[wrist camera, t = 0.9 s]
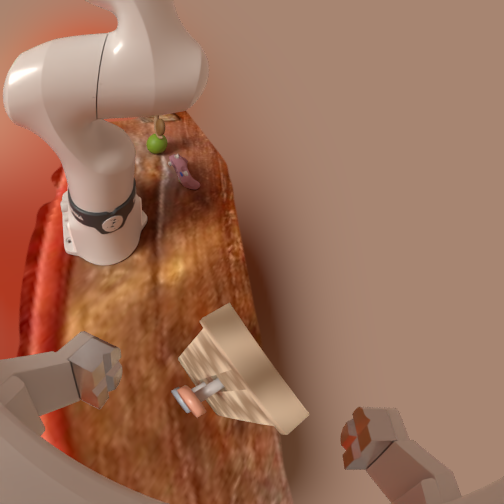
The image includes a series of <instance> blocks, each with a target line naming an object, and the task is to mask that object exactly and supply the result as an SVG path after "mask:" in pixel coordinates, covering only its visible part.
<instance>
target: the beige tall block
mask: <svg viewBox="0 0 504 504" xmlns="http://www.w3.org/2000/svg"><path fill="white" fill-rule="evenodd" d="M200 323H201V325H202V326H203V329H202V331H201V332H200V333H199V334H198V335H197V336H196V338H195V339H194V340H193V341H192V342H191V344H190V345H189V346H188V347H187V348H186V350H185V351H184V352H183V353H182V354H181V355H180V357H179V358H178V360H179V361H180V363H181V364H182V366H183V367H184V369H185V370H186V372H187V373H188V375H189V376H190V378H191V379H192V381H193V382H194V384H195V385H196V386H198V385H199V384H201V383H202V382H205V384H206V385H207V384H209V383H210V382H212V381H213V380H215V379H217V378H218V379H219V380H220V381H221V383H222V384H223V386H224V388H222V389H221V390H219V391H218V392H216V393H215V394H213V395H212V396H210V397H208V398H207V399H206V401H207V402H208V403H209V405H210V406H211V407H212V409H213V410H214V411H215V413H216V414H217V415H220V416H224V417H228V418H233V419H238V420H243V421H248V422H253V423H259V424H265V425H271V426H275V428H276V429H277V430H278V431H279V432H280V434H284V435H287V434H289V433H290V432H291V431H292V430H293V429H294V428H295V427H296V426H298V425H299V424H300V423H301V422H302V421H303V420H304V419H305V418H306V417H307V416H308V415H309V413H308V412H307V410H306V409H305V408H304V406H303V405H302V404H301V402H300V401H299V400H298V399H297V397H296V396H295V395H294V393H293V392H292V391H291V389H290V388H289V387H288V385H287V384H286V383H285V381H284V380H283V379H282V377H281V376H280V374H279V373H278V372H277V370H276V369H275V367H274V366H273V365H272V363H271V362H270V361H269V359H268V358H267V356H266V355H265V353H264V352H263V351H262V349H261V348H260V346H259V345H258V344H257V342H256V341H255V339H254V338H253V336H252V335H251V334H250V332H249V331H248V329H247V328H246V326H245V325H244V323H243V322H242V320H241V319H240V318H239V316H238V315H237V313H236V312H235V310H234V309H233V307H232V306H231V304H230V303H228V304H226V305H225V306H223V307H221V308H219V309H218V310H216V311H214V312H212V313H210V314H209V315H207V316H205V317H203V318H202V319H201V320H200Z"/></svg>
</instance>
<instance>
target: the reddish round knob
mask: <svg viewBox="0 0 504 504" xmlns="http://www.w3.org/2000/svg"><path fill="white" fill-rule="evenodd" d="M222 388H224V386H223V384H222V383H221V381H220V380H219V379H218V378H217V379H215V380H213V381H212V382H210V383H209V384H207V385H206V386H204V387H202V388H201V389H199V390H198V391H196V392H194V393H193V391H192V390H191V389H190V388H189V387H188V386H187V385H185V386H183V387H181V388H180V389H178V390H177V392H178V394H179V395H180V397H181V399H182V400H183V402H184V403H185V404H186V406H187V407H188V408H189V410H190V411H191V412H192V413H193V414H194V415H195V416H196V417H199V416H201V415H202V414H204V413H205V412H206V410H205V408H204V407H203V405H202V403H201V402H202V401H204V400H205V399H207V398H208V397H210V396H212V395H213V394H215V393H216V392H218V391H219V390H221V389H222Z"/></svg>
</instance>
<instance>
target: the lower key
mask: <svg viewBox="0 0 504 504" xmlns="http://www.w3.org/2000/svg"><path fill="white" fill-rule="evenodd" d="M204 386H206V384H205V382H202V383H201V384H199V385H198V386H196V387H194V388H193V389H191V390H192V391H193V393H194V392H196V391H198V390H199V389H201V388H202V387H204ZM178 389H180V388H179V387H177V388H175V389H174V390H172V394H173V395H174V397H175V398H176V400H177V401H178V403H179V404H180V406H181V407H182V408H183V409H184V411H185V412H186V413H189V412H190V410H189V408H188V407H187V406H186V404H185V403H184V402H183V400H182V399H181V397H180V395H179V394H178V392H177V390H178Z"/></svg>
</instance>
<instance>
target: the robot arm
mask: <svg viewBox="0 0 504 504" xmlns="http://www.w3.org/2000/svg"><path fill="white" fill-rule="evenodd" d="M85 1H87V2H89V3H92V4H94V5H96V6H98V7H101V8H103V9H106V10H108V11H111V12H112V13H113V14H115V16H116V17H117V20H118V27H117V29H116V30H115V31H113V32H109V33H103V34H90V35H81V36H73V37H65V38H59V39H55V40H52V41H49V42H46V43H43V44H41V45H38V46H36V47H34V48H32V49H29V50H27V51H25V52H23V53H21V54H20V55H19V56H18V58H17V59H16V60H15V61H14V63H13V65H12V66H11V68H10V70H9V72H8V74H7V77H6V80H5V83H4V88H3V102H4V107H5V110H6V112H7V114H8V116H9V117H10V119H11V120H12V121H13V122H14V123H15V124H16V125H19V126H21V127H24V128H26V129H28V130H30V131H32V132H34V133H35V134H37V135H38V136H39V137H41V138H42V139H43V140H44V141H45V142H46V143H47V144H48V145H49V146H50V147H51V148H52V149H53V150H54V151H55V153H56V154H57V155H58V157H59V158H60V160H61V162H62V165H63V168H64V171H65V175H66V179H67V183H68V190H67V191H66V192H65V193H64V194H63V196H62V201H61V210H62V213H63V234H64V246H65V251H66V252H67V253H68V254H71V255H77V256H80V257H82V258H84V259H85V260H87V261H88V262H90V263H93V264H97V265H111V264H115V263H118V262H120V261H122V260H124V259H125V258H127V257H128V256H129V255H130V254H131V253H132V252H133V251H134V250H135V248H136V247H137V245H138V242H139V239H140V233H141V230H142V229H143V228H144V226H145V225H146V223H147V215H146V214H145V213H144V211H143V210H142V203H141V198H140V197H138V195H137V194H136V183H135V178H134V167H135V155H136V151H135V146H134V143H133V141H132V140H131V138H130V137H129V136H128V134H127V133H126V132H125V131H124V130H123V129H121V128H120V127H118V126H116V125H114V124H112V123H109V122H107V121H105V120H103V119H109V118H128V117H152V116H158V115H164V114H170V113H175V112H181V111H186V110H187V109H188V108H190V107H191V106H192V105H193V104H194V103H195V102H196V101H197V100H198V98H199V97H200V95H201V94H202V93H203V91H204V88H205V86H206V84H207V80H208V75H209V64H208V60H207V56H206V54H205V52H204V50H203V48H202V47H201V46H200V44H199V43H198V42H197V41H196V40H195V39H194V38H192V36H191V35H190V34H189V33H188V32H187V30H186V29H185V28H184V26H183V24H182V23H181V21H180V19H179V17H178V14H177V12H176V9H175V6H174V1H173V0H85ZM70 241H71V243H68V242H70ZM120 358H121V350H120V349H119V348H118V347H116V346H114V345H112V344H110V343H108V342H106V341H104V340H101V339H99V338H97V337H95V336H93V335H91V334H89V333H87V332H85V331H84V332H80V333H79V334H78V335H77V336H75V337H74V338H73V339H72V340H71V341H69V342H68V343H67V344H66V345H65V346H63V347H62V348H61V349H60V350H59V351H58V352H56V353H55V352H53V351H52V352H46V353H41V354H35V355H29V356H23V357H17V358H11V359H4V360H0V504H168V503H165V502H162V501H159V500H157V499H154V498H151V497H149V496H146V495H143V494H141V493H139V492H136V491H134V490H131V489H129V488H127V487H125V486H122V485H120V484H118V483H116V482H114V481H112V480H110V479H108V478H106V477H104V476H102V475H100V474H98V473H96V472H95V471H93V470H91V469H89V468H87V467H86V466H84V465H82V464H81V463H79V462H77V461H76V460H74V459H72V458H71V457H69V456H68V455H66V454H65V453H63V452H62V451H60V450H59V449H57V448H56V447H54V446H53V445H51V444H50V443H49V442H47V441H46V440H45V439H43V438H42V437H41V435H42V434H43V432H44V431H45V426H44V424H43V423H42V421H41V419H40V417H39V416H41V415H44V414H46V413H49V412H52V411H54V410H57V409H60V408H62V407H65V406H67V405H70V404H72V403H75V402H77V401H80V399H81V400H82V401H84V402H86V403H88V404H90V405H92V406H94V407H96V408H98V409H101V407H102V406H103V405H104V403H105V402H106V401H107V399H108V398H109V395H108V392H109V391H112V390H115V389H116V387H117V386H118V385H119V382H120V380H121V377H122V366H121V364H120V363H119V361H118V360H119V359H120ZM341 446H342V447H343V448H344V449H345V450H346V451H345V453H344V454H343V461H344V468H345V470H366V472H367V473H368V474H369V476H370V477H371V478H372V479H373V480H374V482H375V483H376V484H377V486H378V487H379V488H380V489H381V491H382V492H383V493H384V494H385V495H386V497H387V498H388V499H389V501H390V502H391V504H504V477H502V478H500V479H499V480H497V481H495V482H493V483H491V484H489V485H487V486H485V487H483V488H481V489H479V490H476V491H474V492H472V493H470V494H467V495H465V496H461V494H460V491H459V488H458V485H457V482H456V480H455V477H454V474H453V472H452V471H451V470H450V469H448V468H447V467H446V466H445V465H443V464H442V463H441V462H440V461H438V460H437V459H436V458H435V457H433V456H432V455H431V454H430V453H428V452H427V451H426V450H425V449H424V448H422V447H421V446H420V445H419V444H418V443H416V442H415V441H414V440H410V439H409V436H408V434H407V431H406V428H405V426H404V423H403V421H402V418H401V416H400V413H399V411H398V410H397V409H396V408H373V407H372V408H371V407H358V408H357V409H356V410H355V411H354V413H353V419H351V420H350V421H348V422H347V423H346V424H345V426H344V427H343V429H342V433H341Z"/></svg>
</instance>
